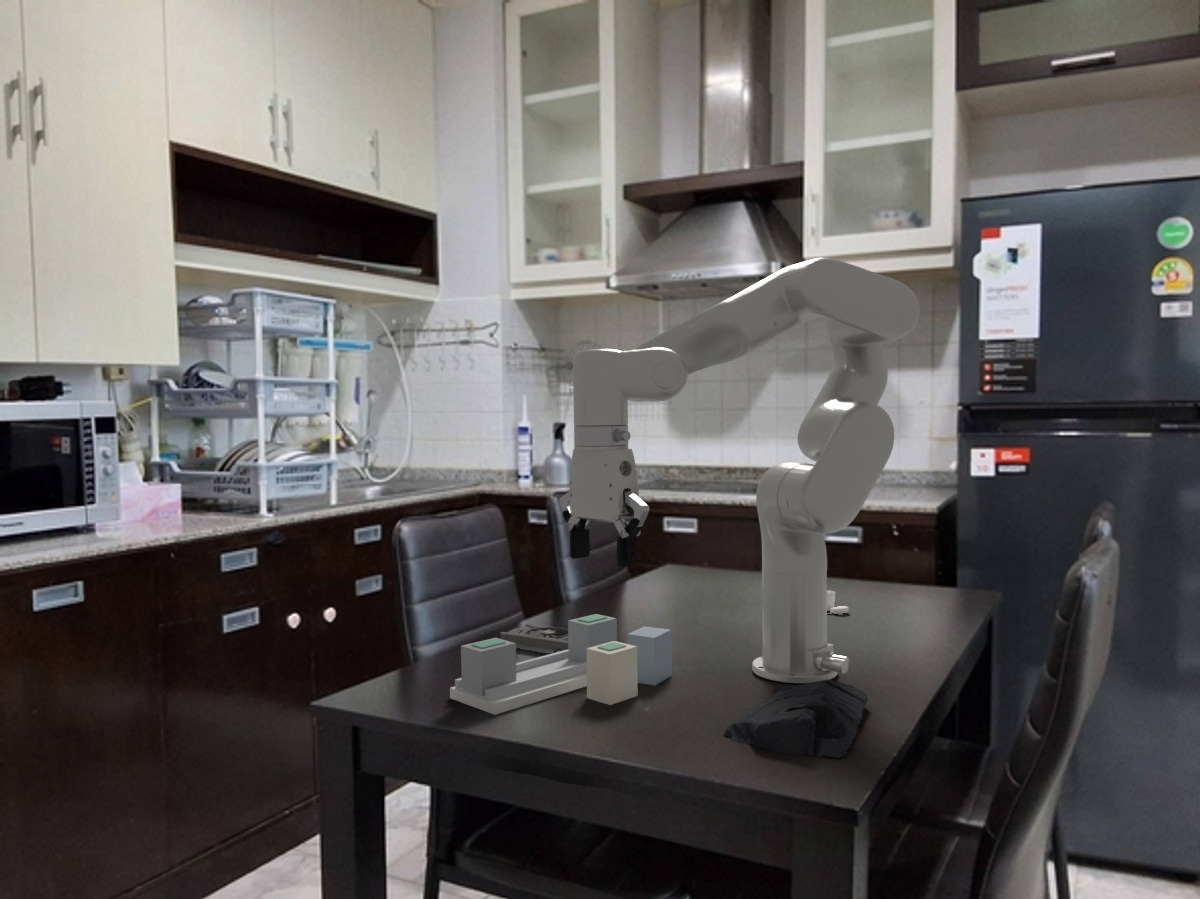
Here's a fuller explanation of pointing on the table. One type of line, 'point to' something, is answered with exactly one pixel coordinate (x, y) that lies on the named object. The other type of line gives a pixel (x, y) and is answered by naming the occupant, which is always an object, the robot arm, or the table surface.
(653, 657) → the block
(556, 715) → the table surface
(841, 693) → the black folded cloth
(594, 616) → the mounted module
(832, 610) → the white rounded block
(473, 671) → the mounted module
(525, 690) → the rail base
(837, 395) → the robot arm
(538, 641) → the graphics card
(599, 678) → the block
